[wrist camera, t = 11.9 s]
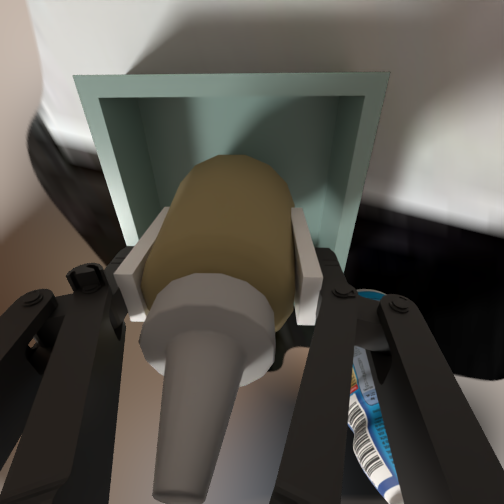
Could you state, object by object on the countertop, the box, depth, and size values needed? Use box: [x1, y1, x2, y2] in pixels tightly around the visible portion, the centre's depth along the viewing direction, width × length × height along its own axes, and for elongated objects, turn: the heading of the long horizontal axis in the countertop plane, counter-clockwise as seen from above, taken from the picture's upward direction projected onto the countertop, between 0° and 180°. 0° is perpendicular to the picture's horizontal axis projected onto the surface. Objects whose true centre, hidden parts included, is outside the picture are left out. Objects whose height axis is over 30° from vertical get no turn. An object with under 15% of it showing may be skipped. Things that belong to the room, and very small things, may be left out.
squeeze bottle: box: [139, 155, 295, 504], centre depth 13 cm, size 8×8×18 cm
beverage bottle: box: [348, 289, 404, 504], centre depth 22 cm, size 8×8×20 cm
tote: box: [73, 72, 390, 305], centre depth 20 cm, size 16×16×6 cm
